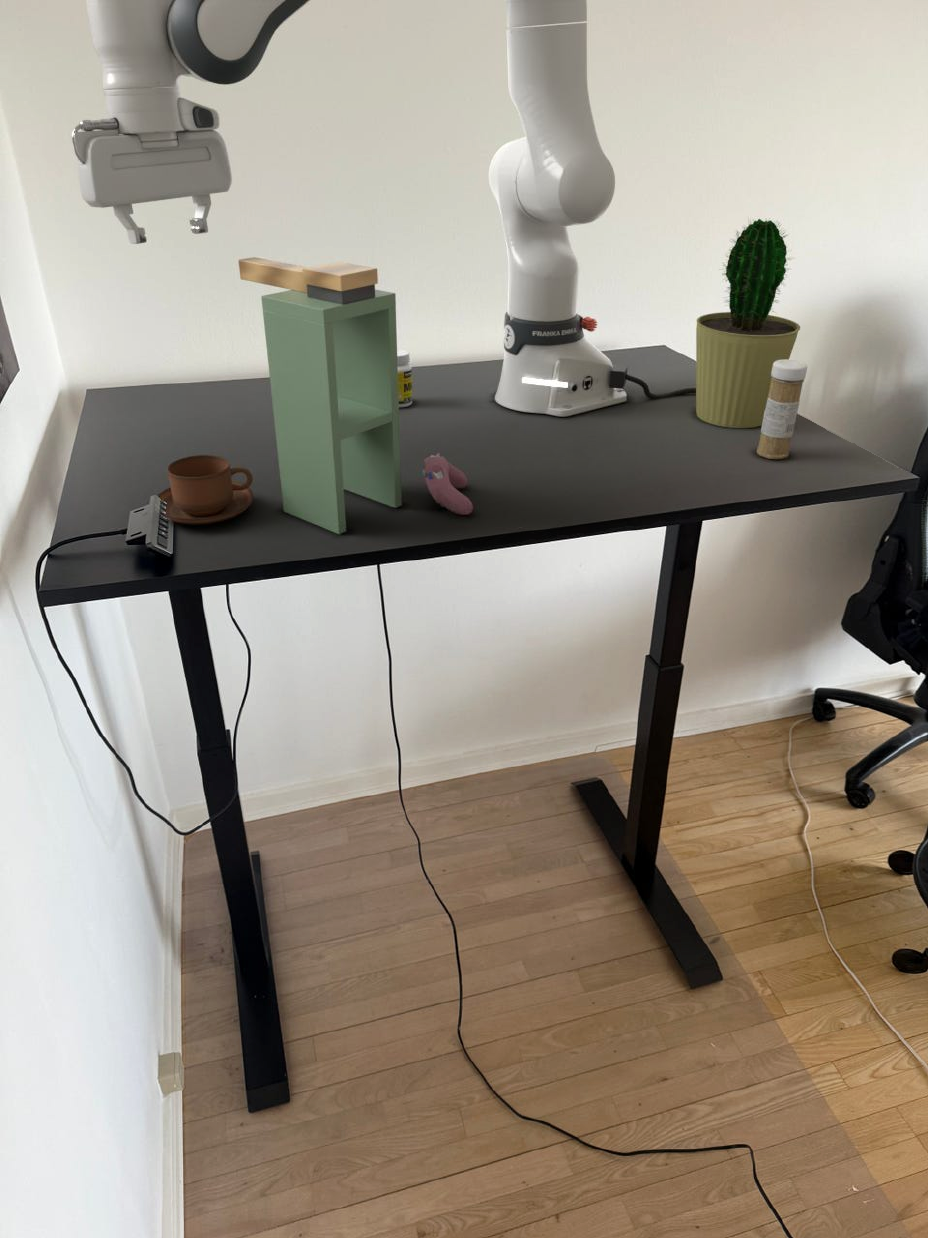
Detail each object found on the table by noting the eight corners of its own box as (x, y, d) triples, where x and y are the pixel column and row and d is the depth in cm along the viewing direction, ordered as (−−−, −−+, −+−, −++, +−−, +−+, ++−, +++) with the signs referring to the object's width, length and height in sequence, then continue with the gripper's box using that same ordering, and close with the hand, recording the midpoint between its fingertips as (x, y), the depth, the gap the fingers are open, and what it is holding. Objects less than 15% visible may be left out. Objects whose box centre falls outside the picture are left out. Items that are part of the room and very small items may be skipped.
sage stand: (283, 511, 112) (260, 295, 98) (347, 485, 119) (333, 280, 105) (339, 534, 106) (323, 309, 93) (402, 505, 114) (395, 292, 100)
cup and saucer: (225, 485, 118) (219, 441, 115) (272, 514, 111) (267, 468, 108) (139, 509, 112) (130, 463, 108) (183, 542, 104) (174, 493, 101)
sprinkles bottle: (773, 447, 132) (791, 356, 125) (795, 457, 129) (815, 365, 122) (749, 452, 131) (766, 360, 124) (770, 462, 127) (789, 368, 120)
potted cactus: (801, 426, 140) (846, 220, 125) (718, 437, 136) (753, 224, 120) (743, 397, 153) (777, 206, 137) (665, 406, 148) (691, 210, 133)
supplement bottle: (408, 409, 146) (407, 357, 142) (380, 407, 147) (378, 355, 142) (415, 400, 150) (414, 349, 146) (388, 398, 151) (386, 348, 146)
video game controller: (438, 497, 120) (414, 453, 116) (469, 482, 119) (445, 437, 115) (443, 529, 111) (417, 483, 108) (476, 513, 110) (451, 466, 107)
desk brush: (229, 281, 105) (226, 253, 103) (266, 274, 108) (263, 247, 107) (342, 305, 94) (340, 275, 93) (378, 296, 98) (377, 268, 96)
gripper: (82, 120, 100) (111, 251, 108) (229, 111, 114) (246, 229, 121) (54, 121, 104) (84, 247, 111) (199, 112, 117) (218, 226, 124)
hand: (170, 237), depth 116 cm, fingers open, 8 cm apart
